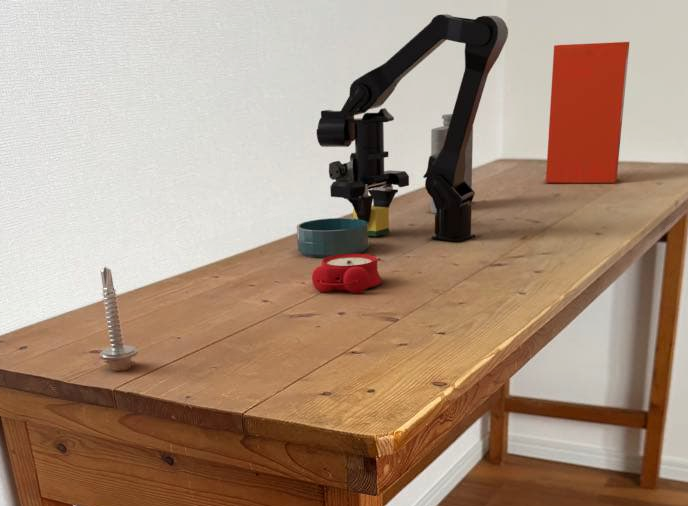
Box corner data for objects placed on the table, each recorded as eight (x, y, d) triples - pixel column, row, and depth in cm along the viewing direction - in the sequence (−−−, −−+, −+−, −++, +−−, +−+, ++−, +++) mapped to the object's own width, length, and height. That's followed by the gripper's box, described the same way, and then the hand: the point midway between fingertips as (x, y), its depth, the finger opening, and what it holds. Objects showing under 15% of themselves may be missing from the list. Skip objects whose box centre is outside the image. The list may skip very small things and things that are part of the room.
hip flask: (440, 213, 214) (441, 117, 205) (425, 212, 216) (425, 117, 207) (473, 202, 225) (475, 110, 216) (458, 201, 227) (460, 111, 218)
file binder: (549, 179, 253) (558, 44, 238) (616, 179, 247) (629, 41, 232) (545, 183, 246) (553, 45, 231) (614, 183, 241) (627, 42, 225)
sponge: (389, 232, 195) (388, 207, 192) (376, 236, 192) (375, 210, 189) (366, 230, 198) (366, 205, 196) (353, 233, 195) (353, 208, 193)
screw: (95, 372, 122) (113, 361, 126) (128, 374, 120) (145, 363, 124) (78, 270, 116) (97, 262, 120) (113, 271, 114) (131, 262, 118)
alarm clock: (389, 254, 160) (365, 252, 146) (387, 292, 161) (364, 294, 148) (330, 253, 163) (302, 251, 149) (330, 291, 164) (301, 292, 151)
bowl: (382, 248, 183) (382, 221, 181) (336, 261, 174) (335, 233, 172) (330, 241, 191) (329, 215, 189) (284, 254, 183) (282, 227, 180)
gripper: (368, 140, 198) (369, 218, 205) (307, 151, 186) (312, 232, 193) (410, 142, 191) (410, 222, 199) (350, 153, 179) (353, 237, 187)
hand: (371, 228), depth 195 cm, fingers closed on sponge, 4 cm apart
